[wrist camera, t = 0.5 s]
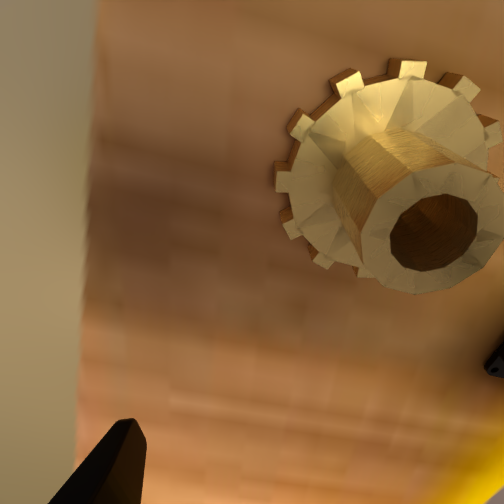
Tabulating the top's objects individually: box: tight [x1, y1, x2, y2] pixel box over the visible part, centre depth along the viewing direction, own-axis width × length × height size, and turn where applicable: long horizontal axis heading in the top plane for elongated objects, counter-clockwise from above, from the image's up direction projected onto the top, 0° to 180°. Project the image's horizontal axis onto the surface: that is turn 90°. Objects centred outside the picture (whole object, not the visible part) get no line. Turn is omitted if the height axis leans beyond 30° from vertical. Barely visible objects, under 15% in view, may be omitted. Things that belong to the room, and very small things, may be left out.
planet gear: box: [273, 58, 504, 295], centre depth 16 cm, size 10×10×6 cm
